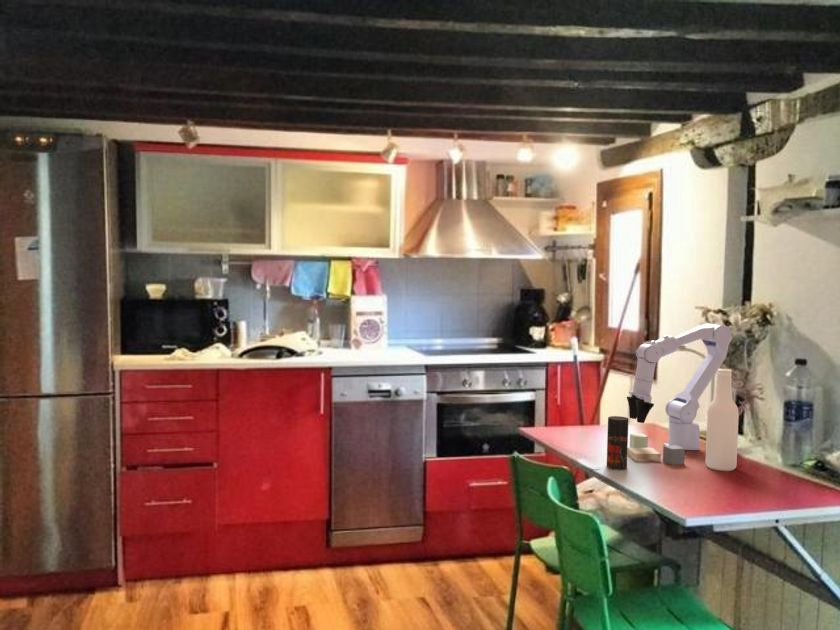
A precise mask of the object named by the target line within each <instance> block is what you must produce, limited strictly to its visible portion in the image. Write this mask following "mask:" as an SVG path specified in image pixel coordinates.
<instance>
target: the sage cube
mask: <svg viewBox="0 0 840 630" xmlns="http://www.w3.org/2000/svg"><path fill="white" fill-rule="evenodd" d="M648 443H649V436H648V435H646V434H644V433H630V434H629V448H649V447H648V446H649V445H648Z"/></svg>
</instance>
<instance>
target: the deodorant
mask: <svg viewBox="0 0 840 630" xmlns="http://www.w3.org/2000/svg"><path fill="white" fill-rule="evenodd" d="M628 443H629V417H625V416H618V415H611V416H608V417H607V440H606V444H607V445H606V468H607V467H608V468H607V469H609V470H610V469H611V470H615V471H623V470H626V469H628V455H627V449H628V448H629V447H628V446H629V445H628Z"/></svg>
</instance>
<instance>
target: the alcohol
mask: <svg viewBox="0 0 840 630" xmlns="http://www.w3.org/2000/svg"><path fill="white" fill-rule="evenodd" d="M732 372H733V371H732V369H729V368H719V369H718V370H717V372H716V374H717V380H716V388H715V396H714V398H713V400H712V401H711V402H710V403H709V405H708V407H707V409H706V410H707V413H706V414H707V415H706V416H707V418H706V437H705V438H706V439H705V460H704V461H705V465H706V467H707V468H708V469H710V470H714V471H723V472H731V471H734V470H735V469H736V468H737V465H738V464H737V463H738V462H737V460H738V443H739V442H738V440H739V439H738V438H739V419H740V416H739V415H740V414H739V413H740V412H739V407H738V406H737V404H736V403H735V402H734V400H733V392H732V391H733V389H732V387H733V385H732Z"/></svg>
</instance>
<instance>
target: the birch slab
mask: <svg viewBox="0 0 840 630" xmlns="http://www.w3.org/2000/svg"><path fill="white" fill-rule="evenodd" d="M627 457H629V458H630V459H632V460H633V461H634V462H662V461H661V460H662V458H661V457H662V454H661V452H659V451H658V450H657V449H654V448H653V447H648V448H630V447H628V449H627Z"/></svg>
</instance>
